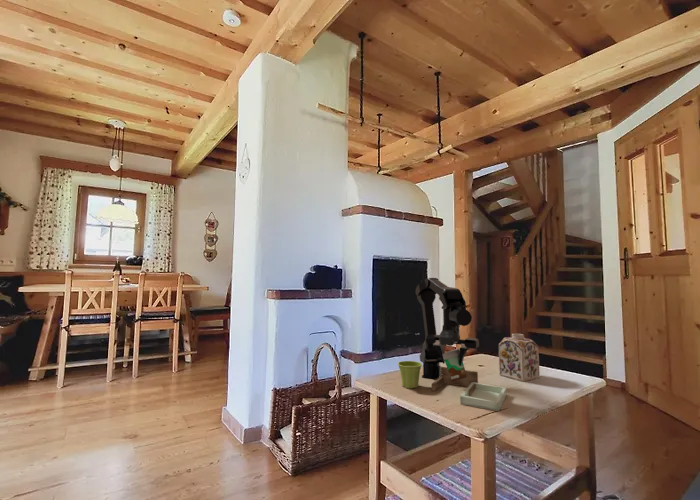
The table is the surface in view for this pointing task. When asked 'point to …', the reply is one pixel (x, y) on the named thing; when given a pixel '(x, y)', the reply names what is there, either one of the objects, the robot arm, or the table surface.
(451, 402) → the table surface
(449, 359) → the food container
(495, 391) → the tray
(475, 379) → the wooden pieces
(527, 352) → the decorative jar
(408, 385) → the plant pot
